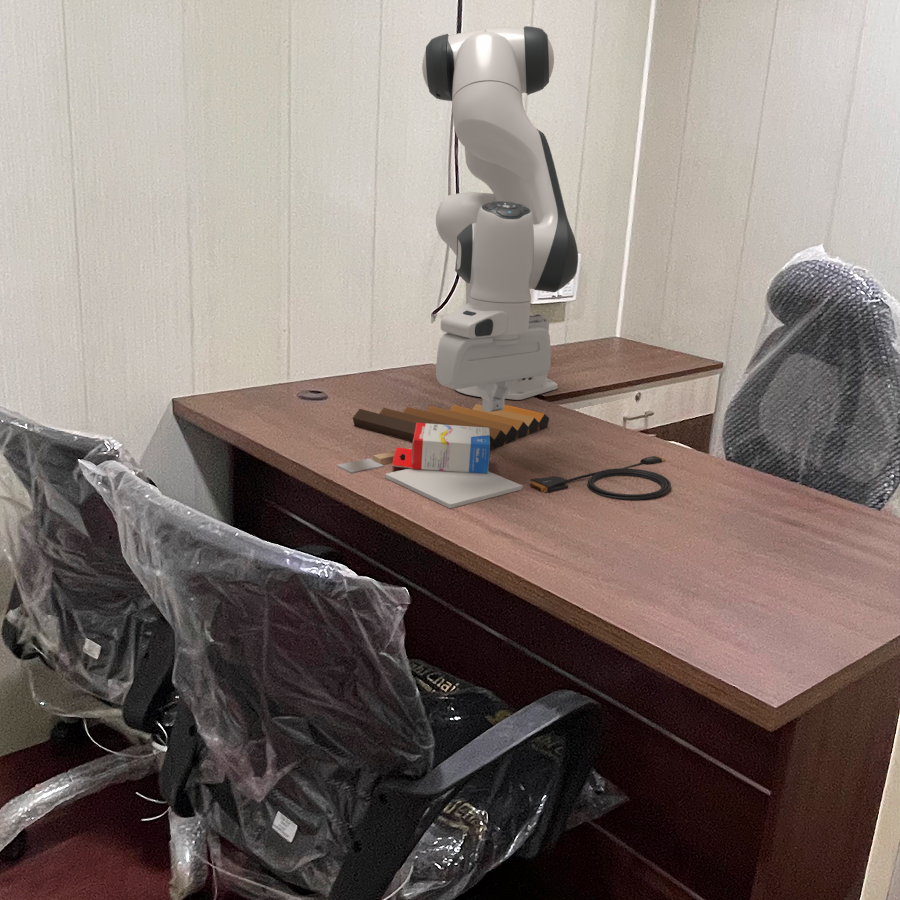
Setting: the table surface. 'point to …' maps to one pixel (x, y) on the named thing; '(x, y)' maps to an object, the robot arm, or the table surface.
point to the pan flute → (455, 421)
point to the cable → (560, 483)
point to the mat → (453, 485)
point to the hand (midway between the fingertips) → (492, 410)
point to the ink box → (447, 449)
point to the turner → (370, 463)
